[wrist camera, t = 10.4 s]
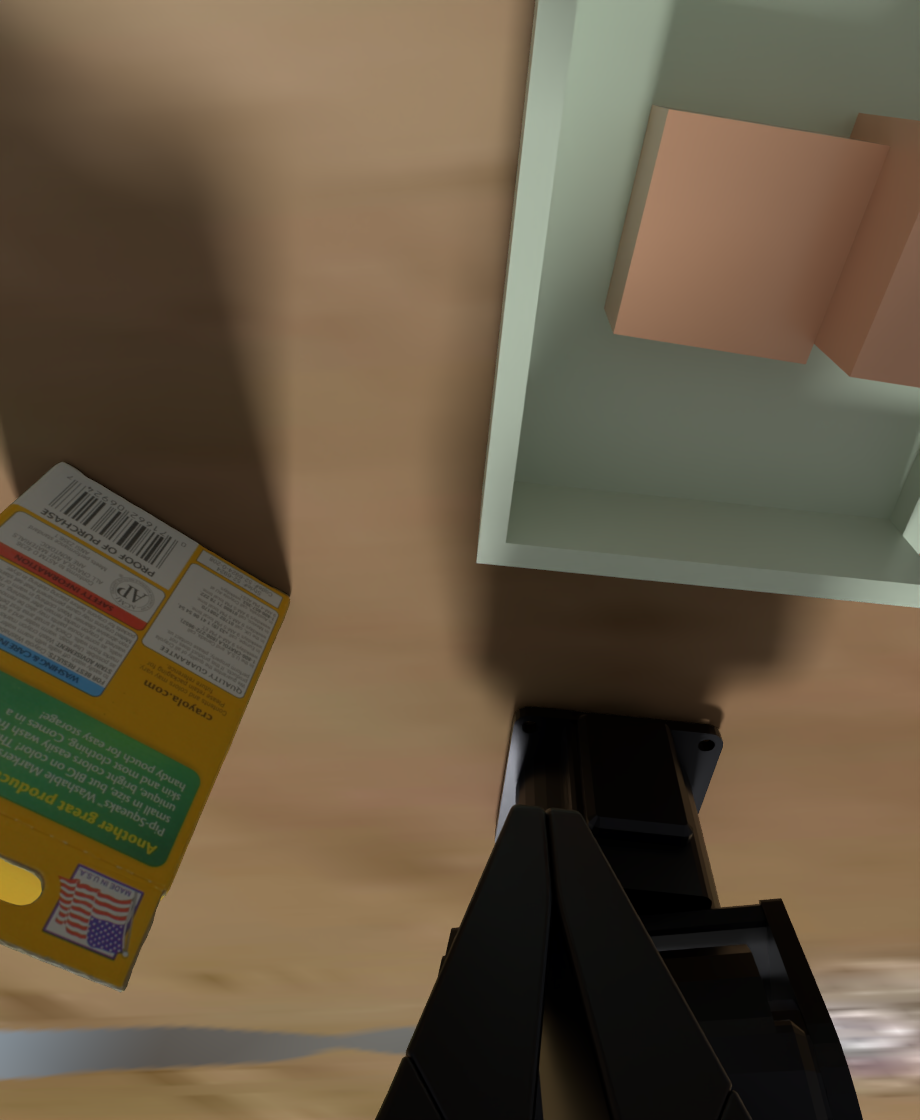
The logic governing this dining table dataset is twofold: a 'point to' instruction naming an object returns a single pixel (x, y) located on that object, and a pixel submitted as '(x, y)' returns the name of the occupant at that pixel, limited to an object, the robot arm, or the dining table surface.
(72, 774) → the crayon box
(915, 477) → the box
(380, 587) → the dining table surface
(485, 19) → the dining table surface
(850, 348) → the tile
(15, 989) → the dining table surface
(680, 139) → the tile
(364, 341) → the dining table surface
